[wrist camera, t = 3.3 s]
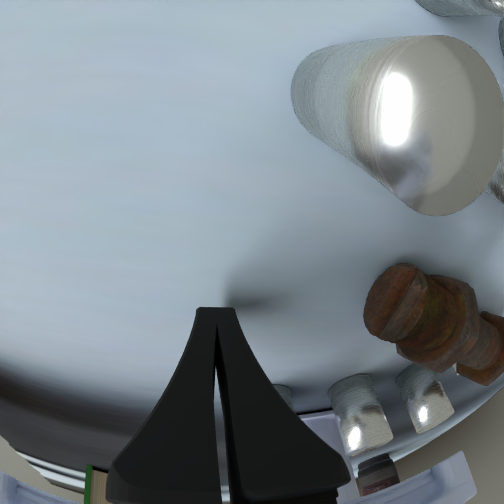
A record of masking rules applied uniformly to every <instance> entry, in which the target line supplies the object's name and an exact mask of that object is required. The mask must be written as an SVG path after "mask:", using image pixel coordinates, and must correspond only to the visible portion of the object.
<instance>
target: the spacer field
mask: <svg viewBox="0 0 504 504" xmlns="http://www.w3.org/2000/svg"><path fill="white" fill-rule="evenodd" d="M415 1H416V2H417V3H419V4H420V5H421V6H422V7H424V8H425V9H426V10H428V11H430V12H432V13H434V14H436V15H440V16H460V15H486V16H504V0H415ZM499 37H500V43H501V48H502V51H503V54H504V17H503V18H502V20H501V22H500V26H499ZM291 101H292V105H293V108H294V111H295V113H296V116H297V118H298V119H299V121H300V122H301V124H302V125H303V126H304V127H305V128H306V129H307V130H308V131H309V132H310V133H312V134H313V135H315V136H316V137H317V138H319V139H320V140H322V141H323V142H325V143H326V144H328V145H329V146H331V147H332V148H334V149H335V150H337V151H338V152H339V153H341V154H342V155H344V156H345V157H347V158H348V159H349V160H351V161H352V162H353V163H355V164H356V165H357V166H359V167H360V168H361V169H363V170H364V171H365V172H367V173H368V174H369V175H371V176H372V177H373V178H375V179H376V180H377V181H378V182H380V183H381V184H382V185H383V186H385V187H386V188H387V189H388V190H390V191H391V192H392V193H393V194H394V195H396V196H397V197H398V198H399V199H400V200H402V201H403V202H404V203H405V204H406V205H407V206H409V207H410V208H412V209H413V210H415V211H417V212H419V213H422V214H425V215H430V216H443V215H448V214H452V213H455V212H457V211H459V210H461V209H463V208H464V207H466V206H468V205H469V204H470V203H472V202H473V201H474V200H475V199H476V198H477V197H478V196H479V195H480V194H481V193H482V192H483V190H484V191H485V192H486V193H488V194H489V195H491V196H492V197H494V198H495V199H496V200H498V201H499V202H500V203H502V204H503V205H504V103H503V98H502V94H501V91H500V88H499V85H498V83H497V80H496V78H495V76H494V74H493V72H492V71H491V69H490V67H489V66H488V64H487V63H486V62H485V60H484V59H483V58H482V57H481V56H480V55H479V53H478V52H477V51H475V50H474V49H473V48H472V47H470V46H469V45H468V44H466V43H464V42H463V41H461V40H458V39H456V38H453V37H449V36H444V35H430V36H407V37H395V38H384V39H376V40H368V41H361V42H355V43H349V44H343V45H338V46H332V47H327V48H323V49H320V50H317V51H315V52H313V53H311V54H310V55H309V56H307V57H306V58H305V59H304V60H303V61H302V62H301V63H300V65H299V66H298V68H297V70H296V71H295V73H294V76H293V79H292V84H291ZM395 382H396V385H397V387H398V389H399V391H400V394H401V396H402V398H403V401H404V403H405V405H406V408H407V410H408V412H409V415H410V417H411V420H412V422H413V425H414V427H415V430H416V432H417V434H420V433H423V432H425V431H427V430H429V429H431V428H433V427H435V426H437V425H438V424H440V423H442V422H443V421H445V420H446V419H447V418H449V417H450V416H451V415H452V414H453V413H454V410H453V408H452V405H451V403H450V401H449V399H448V397H447V395H446V393H445V391H444V389H443V387H442V385H441V383H440V381H439V379H438V377H437V375H436V373H435V372H434V371H431V370H429V369H427V368H424V367H422V366H420V365H418V364H416V363H415V364H413V365H411V366H410V367H408V368H407V369H405V370H404V371H403V372H402V373H401V374H399V376H398V377H397V378H396V380H395ZM273 386H274V387H275V389H276V390H277V391H278V393H279V394H280V395H281V397H282V398H283V399H284V400H285V402H286V403H287V404H288V405H289V407H290V408H291V409H292V410H293V411H294V412H295V409H294V405H293V400H292V396H291V391H290V389H289V388H287V387H285V386H282V385H273ZM328 395H329V399H330V402H331V405H332V409H333V412H334V415H335V419H336V422H337V426H338V429H339V432H340V436H341V439H342V443H343V446H344V450H345V453H346V456H356V455H360V454H363V453H366V452H369V451H371V450H374V449H376V448H378V447H380V446H382V445H384V444H386V443H388V442H389V441H391V440H392V439H393V435H392V432H391V429H390V427H389V424H388V421H387V419H386V416H385V413H384V411H383V408H382V406H381V403H380V400H379V398H378V395H377V393H376V390H375V388H374V385H373V383H372V380H371V378H370V376H369V375H367V374H358V375H353V376H350V377H347V378H345V379H343V380H341V381H339V382H337V383H336V384H334V385H333V386H332V387H331V388H330V389H329V391H328Z"/></svg>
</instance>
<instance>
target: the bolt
mask: <svg viewBox="0 0 504 504" xmlns="http://www.w3.org/2000/svg"><path fill="white" fill-rule="evenodd" d="M363 317H364V323H365V326H366V328H367V329H368V331H369V332H370V334H372V335H374V336H377V337H378V338H379V339H381V340H384V341H389V342H391V343H395V344H396V349H397V353H398V354H399V355H401V356H403V357H404V358H406V359H408V360H410V361H412V362H414V363H416V364H418V365H420V366H422V367H424V368H427V369H429V370H431V371H435V372H440V373H442V372H443V371H445V370H446V369H448V368H449V367H451V366H452V365H454V364H455V363H456V373H458V374H460V375H462V376H464V377H466V378H468V379H470V380H472V381H475V382H477V383H479V384H481V385H483V386H488V385H489V384H490V383H492V382H493V381H494V380H495V379H497V378H498V377H499V376H500V375H501V374H502V373H503V372H504V317H501V316H497V315H494V314H490V313H487V312H482V313H481V314H480V315H479V313H478V306H477V301H476V296H475V292H474V289H473V288H472V287H470V286H469V285H468V284H467V283H465V282H462V281H459V280H456V279H453V278H449V277H445V276H439V275H429V276H427V275H426V274H424V273H423V272H422V271H421V270H419V269H418V268H417V267H415V266H414V265H411V264H408V263H400V264H397V265H394V266H392V267H390V268H389V269H388V270H386V271H385V272H384V273H383V274H381V275H380V276H379V277H378V279H377V280H376V281H375V282H374V284H373V285H372V287H371V289H370V291H369V293H368V296H367V299H366V303H365V307H364V315H363Z"/></svg>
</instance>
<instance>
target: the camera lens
mask: <svg viewBox="0 0 504 504" xmlns="http://www.w3.org/2000/svg"><path fill="white" fill-rule="evenodd" d="M358 469H359V471H358V478H359V483H360V487H361V489H362V492H363V496H366V495H369V494H372V493H375V492H378V491H380V490H383V489H386V488H388V487H391V486H393V485H396V484H398V483H400V481H399V478H398V473H397V470H396V467H395V465H394V463H393V460H392V459H390V457H389V455H388V454H382V455H379V456H376V457H373V458H371V459H369V460H366V461H364V462H362V463H360V464H359V465H358Z"/></svg>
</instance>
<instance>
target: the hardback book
mask: <svg viewBox="0 0 504 504" xmlns="http://www.w3.org/2000/svg"><path fill="white" fill-rule="evenodd" d="M107 475H108V474H107V473H103V472H99V471H95V470H94V469H93V467H92V466H91V465H88V464H87V467H86V478H85V492H84V504H112V503H110V502H107V501H106V499H105V492H106V480H107Z"/></svg>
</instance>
